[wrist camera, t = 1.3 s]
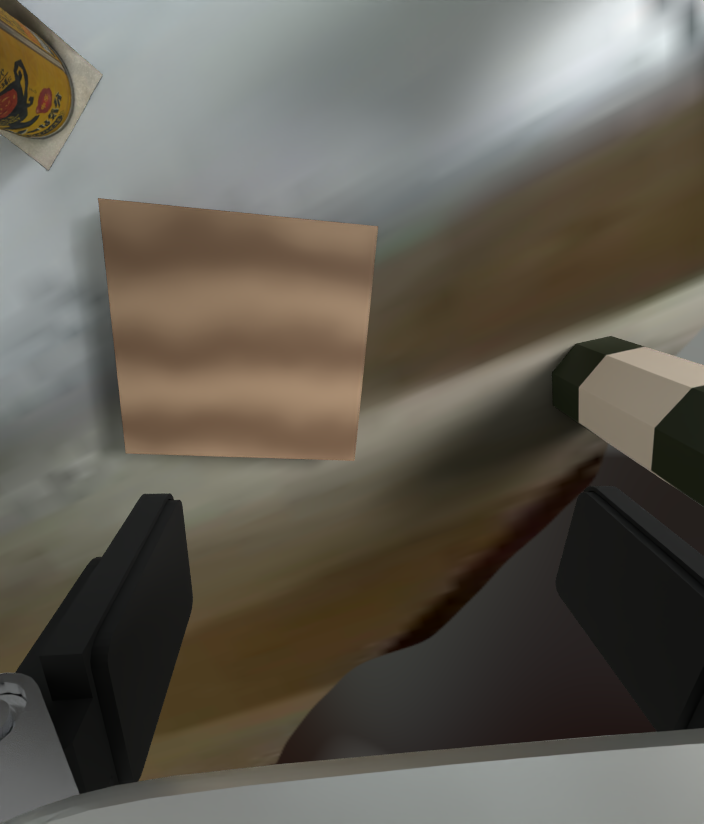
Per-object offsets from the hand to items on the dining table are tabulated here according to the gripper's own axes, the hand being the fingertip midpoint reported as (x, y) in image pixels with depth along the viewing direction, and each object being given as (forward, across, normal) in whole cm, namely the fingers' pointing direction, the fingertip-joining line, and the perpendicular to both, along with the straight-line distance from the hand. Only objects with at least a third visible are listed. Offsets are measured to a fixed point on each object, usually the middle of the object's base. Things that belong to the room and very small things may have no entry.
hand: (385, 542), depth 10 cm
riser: (+28, +6, +1) cm, 29 cm away
